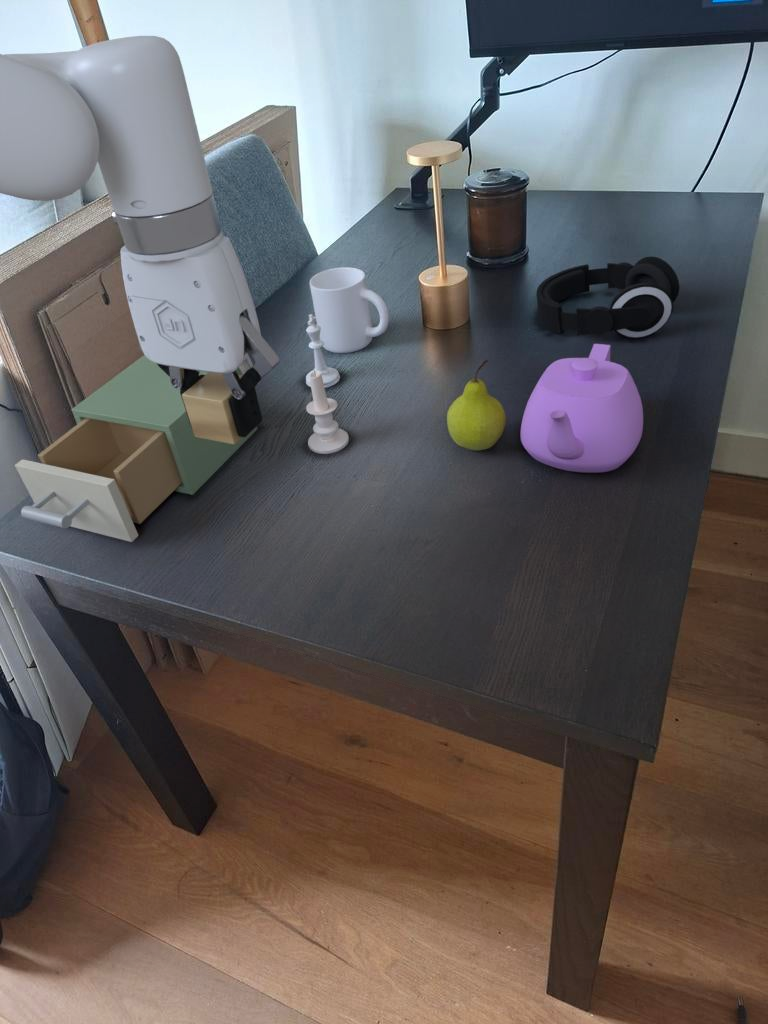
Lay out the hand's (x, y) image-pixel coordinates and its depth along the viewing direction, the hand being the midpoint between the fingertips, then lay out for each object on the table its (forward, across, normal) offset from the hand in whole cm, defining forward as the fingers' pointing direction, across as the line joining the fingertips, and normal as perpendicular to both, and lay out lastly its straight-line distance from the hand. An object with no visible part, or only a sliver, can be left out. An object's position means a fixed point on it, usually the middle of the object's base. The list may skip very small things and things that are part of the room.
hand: (226, 423), depth 70 cm
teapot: (+17, +26, +28) cm, 42 cm away
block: (+1, 0, 0) cm, 1 cm away
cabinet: (+17, -22, +14) cm, 31 cm away
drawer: (+16, -22, +1) cm, 27 cm away
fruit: (+17, +14, +26) cm, 34 cm away
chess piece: (+17, -13, +35) cm, 41 cm away
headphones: (+17, +21, +63) cm, 68 cm away
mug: (+17, -13, +47) cm, 51 cm away
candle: (+17, -4, +21) cm, 28 cm away
